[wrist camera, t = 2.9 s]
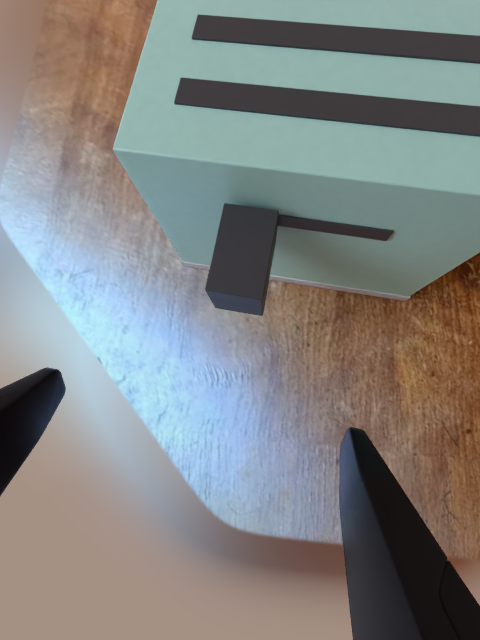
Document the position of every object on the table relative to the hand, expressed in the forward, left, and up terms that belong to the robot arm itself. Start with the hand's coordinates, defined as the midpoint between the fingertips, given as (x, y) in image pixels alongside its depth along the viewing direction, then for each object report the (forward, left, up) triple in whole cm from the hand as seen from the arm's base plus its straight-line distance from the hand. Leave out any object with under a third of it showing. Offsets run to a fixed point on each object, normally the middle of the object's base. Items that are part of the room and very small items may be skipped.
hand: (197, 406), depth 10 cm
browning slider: (+5, +4, -5) cm, 8 cm away
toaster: (+11, +7, -12) cm, 18 cm away
